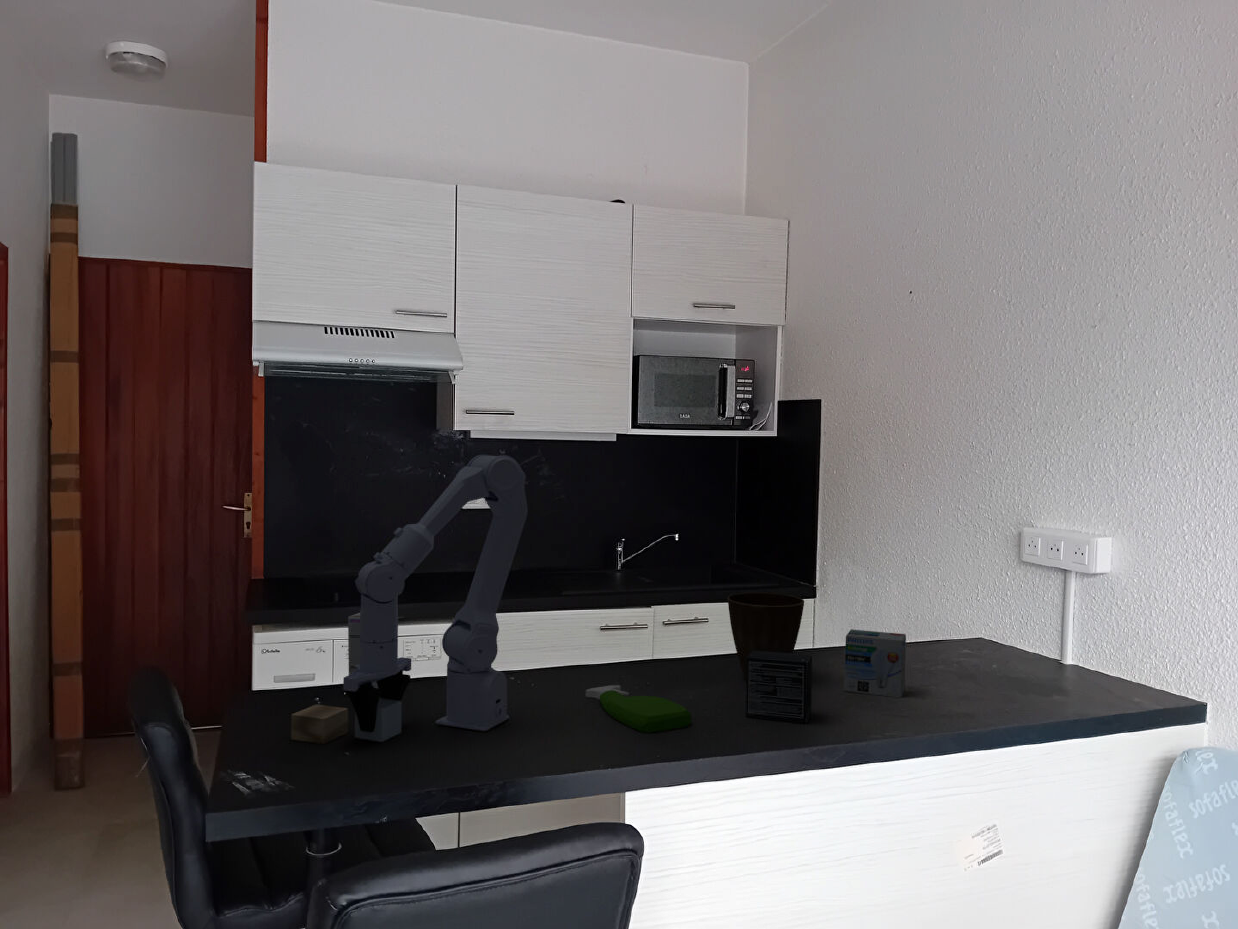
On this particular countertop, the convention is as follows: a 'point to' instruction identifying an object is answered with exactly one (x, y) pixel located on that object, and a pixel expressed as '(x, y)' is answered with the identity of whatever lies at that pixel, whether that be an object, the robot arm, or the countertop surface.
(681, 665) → the countertop surface
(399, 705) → the blue-grey cube
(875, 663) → the light bulb box
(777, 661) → the small box
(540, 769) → the countertop surface
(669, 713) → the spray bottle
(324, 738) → the oak block
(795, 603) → the plant pot
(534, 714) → the countertop surface
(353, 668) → the syrup box
